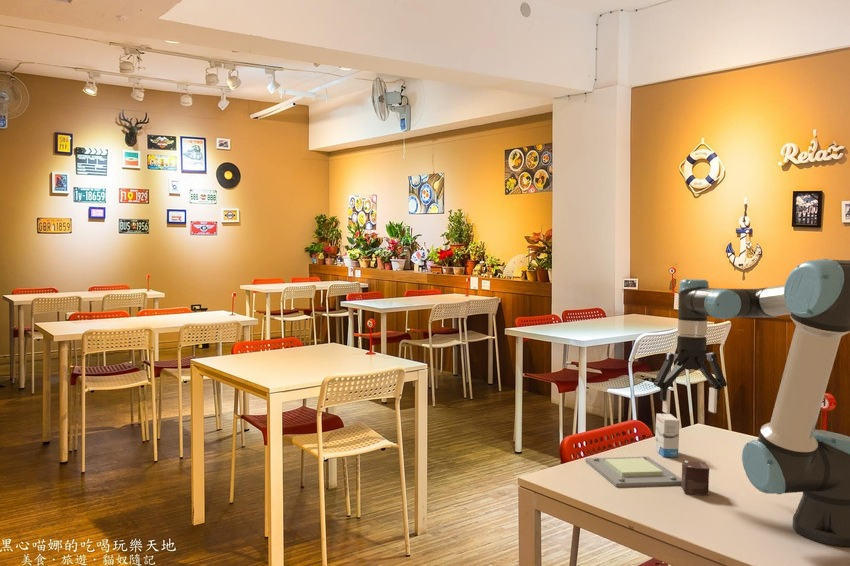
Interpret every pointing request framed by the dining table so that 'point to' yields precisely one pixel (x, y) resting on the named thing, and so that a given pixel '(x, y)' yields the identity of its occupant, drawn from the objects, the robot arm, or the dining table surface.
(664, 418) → the ink box
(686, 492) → the box
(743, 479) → the dining table surface
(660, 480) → the board
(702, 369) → the robot arm
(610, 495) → the dining table surface
